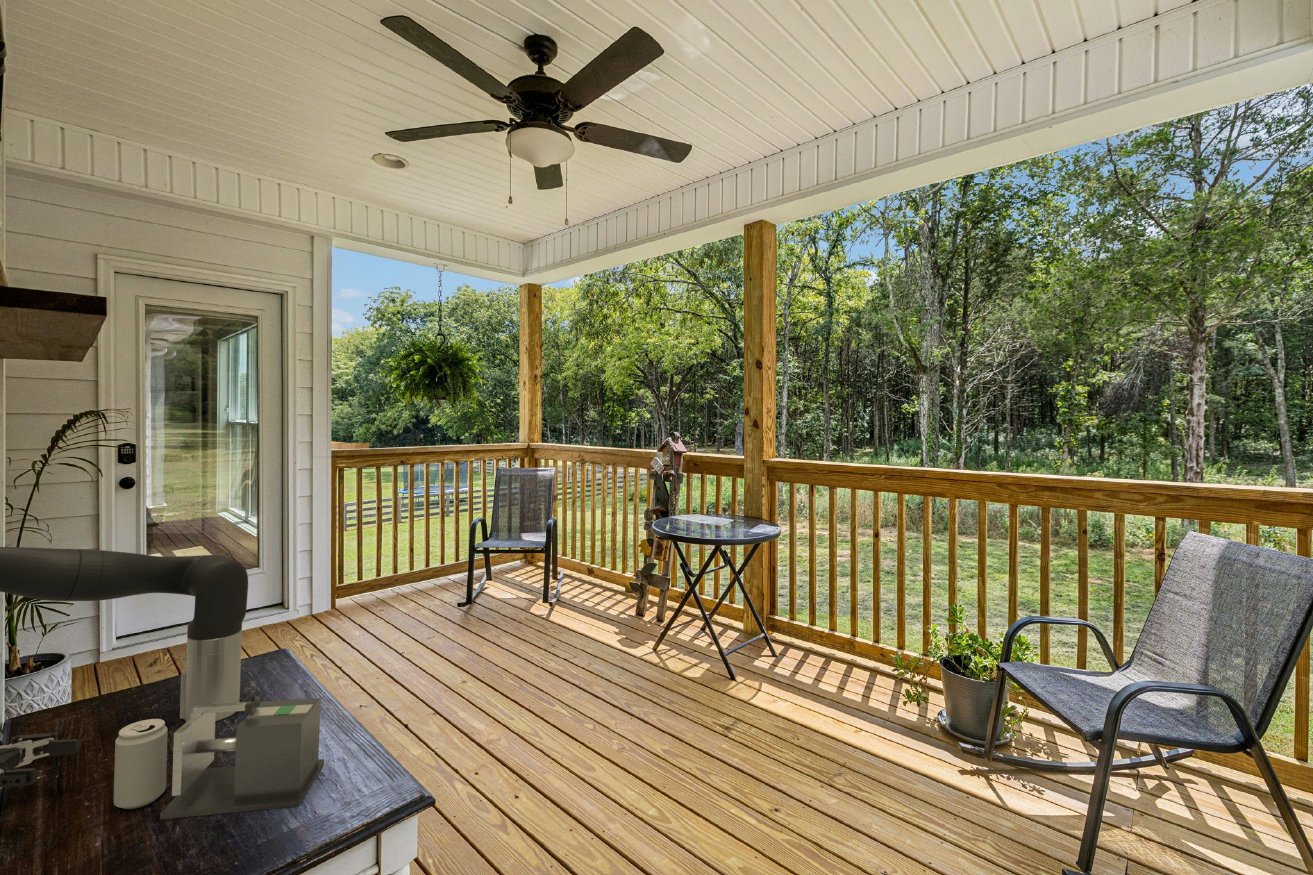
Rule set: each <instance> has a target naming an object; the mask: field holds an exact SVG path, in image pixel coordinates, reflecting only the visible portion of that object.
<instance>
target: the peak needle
mask: <svg viewBox="0 0 1313 875" xmlns="http://www.w3.org/2000/svg"><path fill="white" fill-rule="evenodd" d="M249 698H250V699H249V700H248V701H247V703H246V704H245V711H244V715H249V714H252V713H253V712H254V711H255V710H256V709H257V708H258V707H259V705H260V703H261V696H260V695H258V696H257V695H256V690H255V689H253V690H250V697H249Z"/></svg>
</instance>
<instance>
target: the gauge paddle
mask: <svg viewBox="0 0 1313 875" xmlns="http://www.w3.org/2000/svg"><path fill="white" fill-rule="evenodd" d="M247 702H248V701H247ZM247 702H246V701H245V702H239V703H225V704H216V703H208V704H207V705H196V706H195V707H194V708H193V712H192V713H191V719H189V720H188V721H187V722H186V721H185V723H184V724H182V725H181V726H180V727H179V728H178V729H177V730H176V731H174V732H173V751H172V752H173V754H172V755H173V756H172V782H171V784H172V786H171V796H172V797H176V796H177V795H181V794H182V793H183V792H184V791H185V790H186V789H187V788H188V787H189V786H190V785H191V784H192V783H193V781H194V780H195V779H196V778H197V777H198V776H199V775H200V774H201V773H202V772H203V771H204V770H205V769H206V768H209V767H208V766H210V764H212V762H213V761H214V760H215V753H223V752H234V751H235V752H236V737H227V738H226V737H225V738H216V737H215V736H216V721H215V714H216V713H217V712H234V711H237V712H245V704H246V703H247Z"/></svg>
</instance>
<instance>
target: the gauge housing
mask: <svg viewBox="0 0 1313 875" xmlns="http://www.w3.org/2000/svg"><path fill="white" fill-rule="evenodd" d="M321 701H322V700H321V697H320V698H318V697H317V698H316V697H314V698H302V699H301V698H299V699H286V700H285V699H284V700H266V701H265V700H263V701H260V705H259V707H258V708H257V709H256V710H255V711H254V712H253V713H252V714H247V715H246V717H245V718H244V719H243V720H241V722H240V723H239V724H237V726H236V731H235V732H236V733H235V734H236V735H235V738H236V751H235V761H234V762H235V763H234V765H233V766H231V765H230V766H222V767H207V768H206V769H205V770H204V771H203V772H202V773H201V774H200V775H199V776H198V777H197V778H196V779H195V780H194V781H193V783H192V784H191V785H190V786H189V787H188V788H187V789H186V790H185V791H184V792H183V793H182V794H181V795H176V796H174V798H173V799H172V800H171V801H170V802H169V804H167V806H166V807H164V809H163V810H162V811H161V812H160V814H159V816H160V817H159V820H160V821H161V820H170V819H179V818H180V819H181V818H190V817H192V818H193V817H201V816H202V817H203V816H211V815H212V816H213V815H222V814H232V813H233V814H234V813H244V812H253V811H254V812H255V811H266V810H273V809H274V810H275V809H287V808H295V807H297V808H298V807H300V805H301V804H302V802H303V800H304V799H305V797H306V795H307V794H308V792H309V791H310V789H311V788H312V785H313V783H314V782H315V780H316V778H317V777H318V775H319V774H320V772H321V770H322V769H323V767H324V765H325V759H324V758H322V759H319V751H320V723H321Z"/></svg>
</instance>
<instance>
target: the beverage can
mask: <svg viewBox="0 0 1313 875" xmlns="http://www.w3.org/2000/svg"><path fill="white" fill-rule="evenodd" d="M165 724H166V722H165V720H163V719H162V718H150V719H144V720H139V721H136V722H132V723H129V724H128V725H126V726H124V727H123V728H121V729H120V730H119V731H118V736H117V738H116V739H115V743H114V744H115V746H114V775H113V777H114V778H113V779H114V780H113V806H116V807H117V808H121V809H122V810H123V809H124V810H132V809H138V808H143V807H144V806H147V805H149V804H151V803H153V802H155V801H156V800H158V799H159V798H160V796H162V794H163V793H164V792H165V791H166V789H167V761H168V760H167V759H168V758H167V757H168V727H167V726H166V725H165Z"/></svg>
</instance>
